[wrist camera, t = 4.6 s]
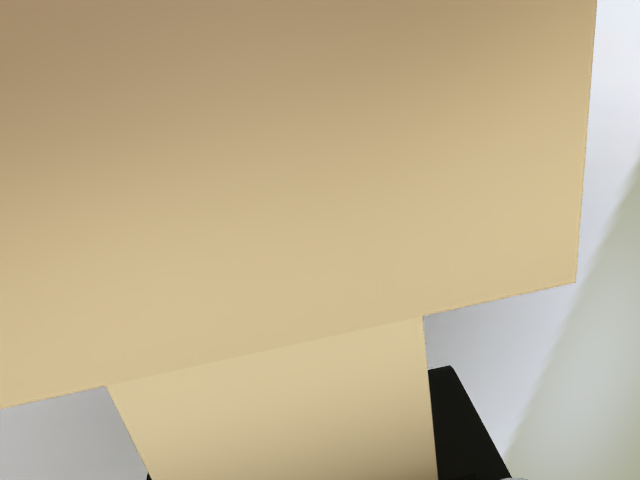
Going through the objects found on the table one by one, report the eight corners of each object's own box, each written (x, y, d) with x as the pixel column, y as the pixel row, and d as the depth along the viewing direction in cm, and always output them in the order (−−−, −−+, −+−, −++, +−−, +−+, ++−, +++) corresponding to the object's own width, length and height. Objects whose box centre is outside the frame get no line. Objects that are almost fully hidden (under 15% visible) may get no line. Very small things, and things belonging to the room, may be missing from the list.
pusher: (433, 410, 14) (546, 666, 9) (211, 460, 14) (184, 755, 8) (364, -326, 7) (695, -1301, 2) (-75, -251, 7) (-1177, -1106, 2)
